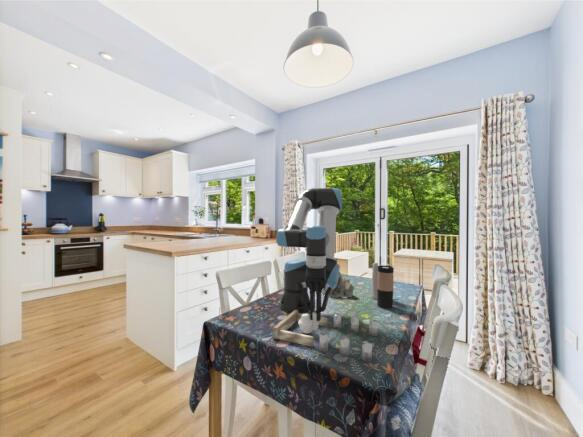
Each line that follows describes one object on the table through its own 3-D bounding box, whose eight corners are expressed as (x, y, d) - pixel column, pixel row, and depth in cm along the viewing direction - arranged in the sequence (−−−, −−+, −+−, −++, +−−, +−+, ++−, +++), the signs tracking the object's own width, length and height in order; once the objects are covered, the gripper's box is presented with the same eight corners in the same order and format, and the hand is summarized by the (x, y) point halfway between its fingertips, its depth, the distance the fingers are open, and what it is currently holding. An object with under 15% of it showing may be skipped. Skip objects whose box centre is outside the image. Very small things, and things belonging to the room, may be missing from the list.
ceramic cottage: (317, 292, 150) (319, 267, 150) (339, 290, 158) (342, 266, 157) (333, 302, 136) (336, 274, 136) (357, 299, 144) (359, 273, 143)
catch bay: (273, 338, 93) (273, 327, 92) (295, 318, 111) (295, 309, 111) (311, 347, 87) (312, 335, 87) (327, 325, 105) (328, 315, 105)
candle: (399, 300, 138) (400, 263, 138) (374, 299, 139) (374, 263, 139) (394, 296, 146) (395, 261, 145) (370, 295, 146) (370, 261, 146)
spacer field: (318, 350, 85) (318, 335, 85) (334, 325, 105) (334, 313, 105) (371, 362, 78) (371, 346, 78) (377, 333, 98) (377, 320, 98)
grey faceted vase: (318, 330, 98) (316, 312, 98) (308, 336, 93) (306, 317, 94) (305, 327, 102) (304, 310, 102) (295, 333, 97) (293, 314, 98)
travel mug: (374, 305, 129) (374, 266, 129) (381, 302, 134) (381, 264, 134) (388, 310, 123) (389, 268, 123) (395, 306, 129) (396, 267, 129)
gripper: (296, 266, 96) (295, 329, 95) (330, 269, 90) (329, 336, 90) (303, 263, 103) (302, 322, 102) (335, 266, 97) (334, 327, 97)
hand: (315, 328), depth 96 cm, fingers closed
